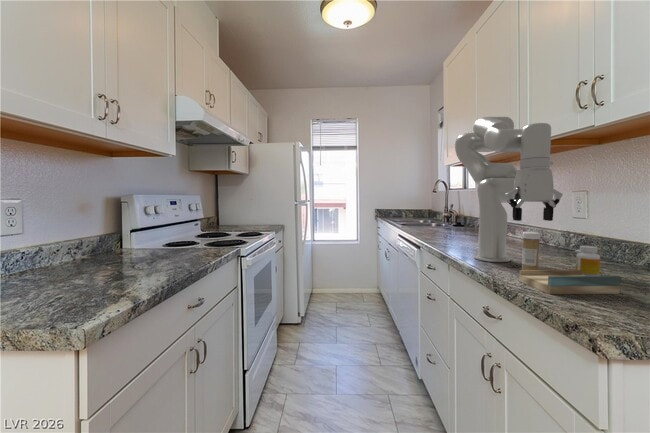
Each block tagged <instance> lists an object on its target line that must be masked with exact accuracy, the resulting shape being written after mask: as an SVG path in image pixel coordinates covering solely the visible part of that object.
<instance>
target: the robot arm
mask: <svg viewBox="0 0 650 433" xmlns="http://www.w3.org/2000/svg"><path fill="white" fill-rule="evenodd" d="M472 129H473V131H472V132H466V133H465V132H464V133H462V134H460V135H458V137H457V138H456V140H455V144H454V148H455V154H456V157H457V158H458V161H460V163H461V164H462V165H463V166H464V167H465V169H467V172H468V173H469V175H470V176H471V178H472V180H473V181H474V183H475V184H476V185H477V191H476V192H477V198H478V205H479V206H478V207H479V208H478V209H479V210H478V211H479V214H478V215H479V216H478V242H477V244H478V246H476V250H477V253H474V254H473V258H474V259H475V260H478V261H483V262H488V263H491V262H492V263H508V262H510V261H511V257H510V256H508V255H507V232H508V231H507V230H508V213H507V211H506V209H505V207H504V206H503V204H505V203H506V204H507V203H508V204H509V205H510V208H512V221H518V222H521V221H522V219H523V218H522V217H523V209H522V207H521V206H522V205H523V204H524V203H525V202H529V203H530V202H532V203H534V202H536V203H537V202H538V203H540V202H541V203H542V204H543V205H544V206H545V207H543V212H542V213H543V214H542V216H543V217H542V219H543V221H548V222H549V221H551V222H552V221H553V220H554V208H556V207H557V205H558V204H559V203H560V200H561V198H562V197H563V193H562V192H560V191H559V190H557V189H555V187H554V177H553V175H554V174H553V170H552V168H550V166H553V164H554V162H553V161H552V160H551V144H552V143H551V141H552V126H551V124H549V123H547V122H538V123H537V122H535V123H530V124H527V125H525V126H523V127H522V129H521V128H517V129H515V123H514V121H513V119H512V118H510V117H509V116H484V117H481V118H478V119H477V120H476V121H475V122H474V124H473V128H472ZM491 152H495V153H503V154H504V153H520V156H519V157H520V161H519V162H520V166H519V169H517V168H516V166H515V165H513V164H512V163H507V162H491V161H489V160H488V159H487V158H486V156H485V155H484V154H482V153H491Z"/></svg>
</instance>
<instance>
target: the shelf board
mask: <svg viewBox="0 0 650 433" xmlns="http://www.w3.org/2000/svg"><path fill="white" fill-rule="evenodd" d="M518 274H519V275H518V282H521V283H523V284H526V285H527V286H530V287H532V288H534V289H537V290H540V291H542V292H544V293H546V294H549V295H596V294H597V295H602V294H604V295H607V294H609V295H610V294H611V295H613V294H614V295H616V294H617V295H620V294H621V281H622V279H621V278H622V277H621V276H620V275H599V276H586V275H582V270H576V269H538V270H522V269H519V271H518Z"/></svg>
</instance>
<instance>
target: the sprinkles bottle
mask: <svg viewBox="0 0 650 433" xmlns="http://www.w3.org/2000/svg"><path fill="white" fill-rule="evenodd" d="M540 239H541V233H540V232H537V231H536V232H535V231H523V232H522V249H521V250H522V252H521V254H522V255H521V270H539V264H540V262H539V260H540V259H539V258H540V255H539V254H540V253H539V251H540V249H539V248H540Z"/></svg>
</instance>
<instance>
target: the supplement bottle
mask: <svg viewBox="0 0 650 433" xmlns="http://www.w3.org/2000/svg"><path fill="white" fill-rule="evenodd" d="M598 250H599V249H598V247H597V246H593V245H580V246H579V251H580V252H578V253H577V254H576V259H575V270H582V275H586V276H600V270H601V268H600V267H601V255H599V254H597V253H598V252H599V251H598Z"/></svg>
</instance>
